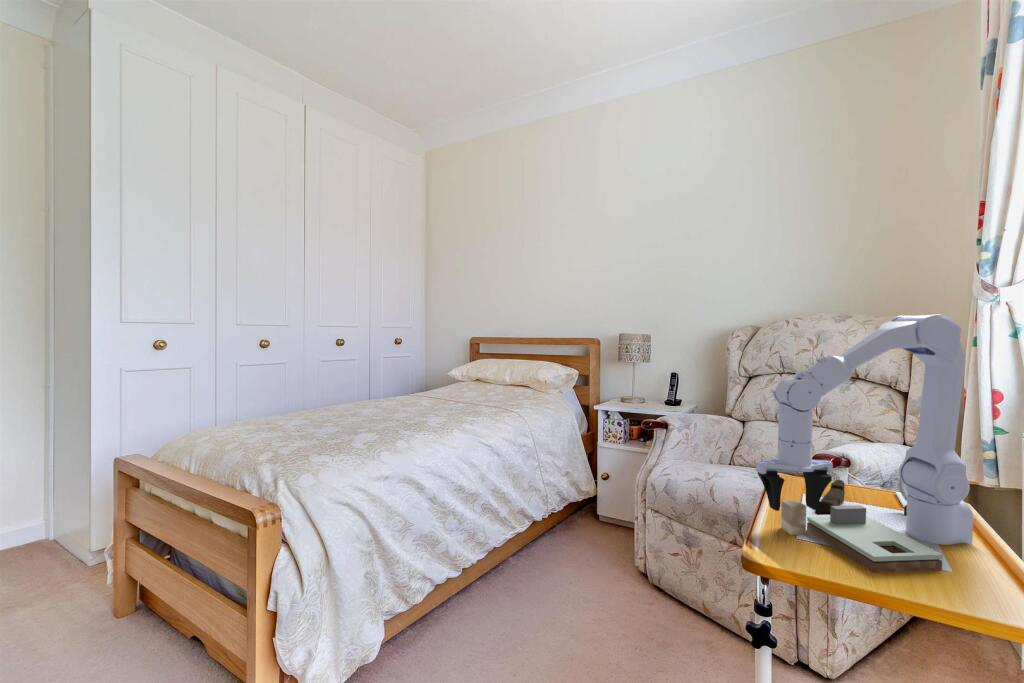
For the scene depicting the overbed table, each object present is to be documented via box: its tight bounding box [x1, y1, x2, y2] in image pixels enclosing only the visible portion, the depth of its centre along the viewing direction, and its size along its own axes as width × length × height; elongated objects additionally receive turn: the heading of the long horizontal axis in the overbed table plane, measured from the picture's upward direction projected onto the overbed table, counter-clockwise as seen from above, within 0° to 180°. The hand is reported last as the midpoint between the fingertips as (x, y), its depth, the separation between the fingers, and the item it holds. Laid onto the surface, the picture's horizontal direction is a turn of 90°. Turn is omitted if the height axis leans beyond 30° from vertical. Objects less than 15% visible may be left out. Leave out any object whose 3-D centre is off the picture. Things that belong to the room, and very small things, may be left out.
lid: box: [806, 504, 943, 561], centre depth 87 cm, size 12×16×4 cm
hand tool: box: [814, 479, 846, 516], centre depth 110 cm, size 19×4×5 cm, turn 135°
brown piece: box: [806, 521, 943, 573], centre depth 87 cm, size 12×16×3 cm
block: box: [780, 499, 807, 536], centre depth 94 cm, size 3×3×7 cm
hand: (792, 508), depth 94 cm, fingers open, 7 cm apart
